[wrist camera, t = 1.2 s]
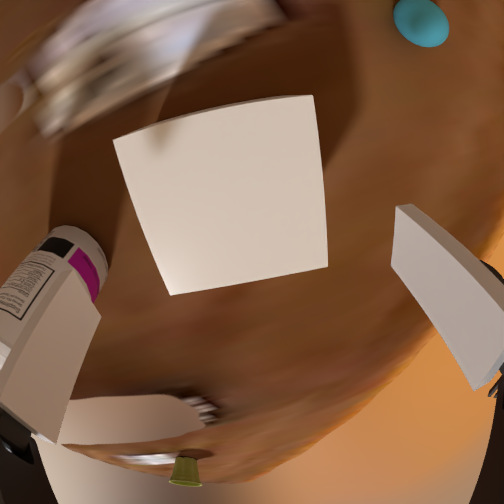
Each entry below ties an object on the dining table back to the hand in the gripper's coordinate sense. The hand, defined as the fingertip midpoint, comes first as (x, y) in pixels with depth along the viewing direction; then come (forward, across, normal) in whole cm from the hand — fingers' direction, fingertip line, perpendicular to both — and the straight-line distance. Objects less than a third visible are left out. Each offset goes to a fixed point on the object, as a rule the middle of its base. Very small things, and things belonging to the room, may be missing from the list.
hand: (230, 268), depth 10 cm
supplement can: (+14, -18, -5) cm, 24 cm away
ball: (+12, +18, +12) cm, 25 cm away
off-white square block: (+14, 0, 0) cm, 14 cm away
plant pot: (+15, -31, -74) cm, 81 cm away
